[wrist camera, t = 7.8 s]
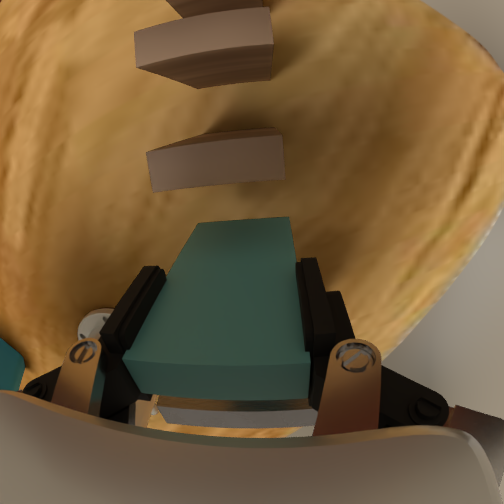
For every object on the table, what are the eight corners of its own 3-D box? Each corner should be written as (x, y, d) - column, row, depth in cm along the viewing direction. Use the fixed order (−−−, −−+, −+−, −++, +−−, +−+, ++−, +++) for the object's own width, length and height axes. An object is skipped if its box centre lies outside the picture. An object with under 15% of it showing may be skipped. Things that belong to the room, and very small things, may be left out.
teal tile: (198, 223, 16) (121, 358, 7) (288, 216, 15) (310, 362, 6) (202, 248, 16) (141, 392, 8) (290, 243, 16) (307, 398, 7)
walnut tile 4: (276, 149, 19) (285, 179, 10) (205, 156, 19) (153, 192, 10) (274, 127, 18) (282, 135, 9) (202, 134, 19) (146, 152, 10)
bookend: (313, 302, 24) (335, 422, 14) (200, 307, 25) (166, 422, 14) (314, 283, 23) (340, 405, 13) (196, 289, 24) (156, 405, 14)
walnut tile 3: (270, 80, 17) (273, 43, 8) (197, 88, 17) (136, 67, 8) (268, 59, 16) (269, 6, 7) (195, 68, 16) (133, 31, 7)
